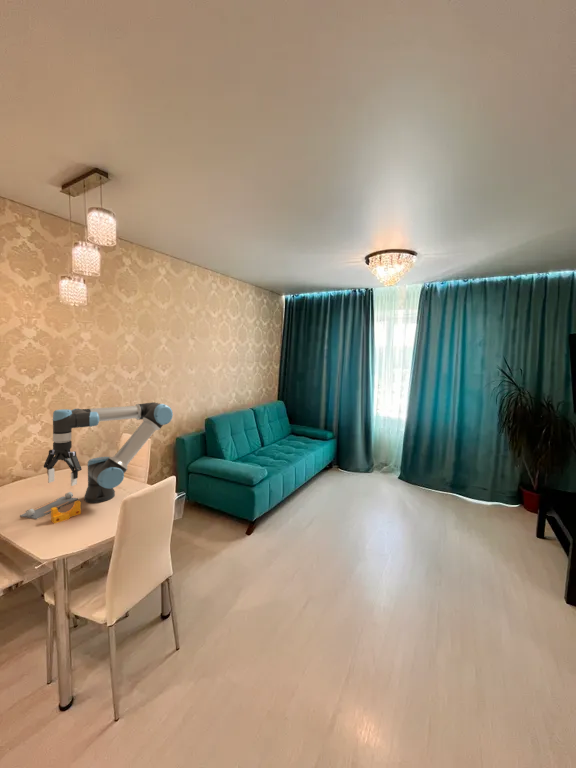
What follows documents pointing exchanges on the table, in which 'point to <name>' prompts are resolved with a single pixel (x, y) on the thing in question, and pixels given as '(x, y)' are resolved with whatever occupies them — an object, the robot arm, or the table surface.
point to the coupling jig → (49, 506)
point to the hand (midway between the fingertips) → (62, 483)
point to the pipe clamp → (65, 513)
